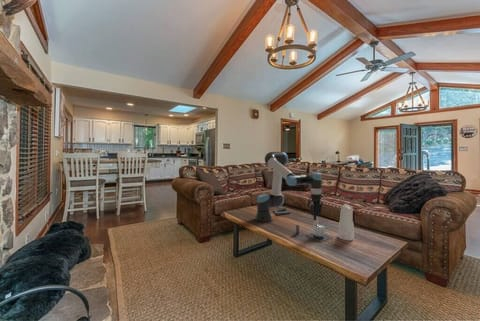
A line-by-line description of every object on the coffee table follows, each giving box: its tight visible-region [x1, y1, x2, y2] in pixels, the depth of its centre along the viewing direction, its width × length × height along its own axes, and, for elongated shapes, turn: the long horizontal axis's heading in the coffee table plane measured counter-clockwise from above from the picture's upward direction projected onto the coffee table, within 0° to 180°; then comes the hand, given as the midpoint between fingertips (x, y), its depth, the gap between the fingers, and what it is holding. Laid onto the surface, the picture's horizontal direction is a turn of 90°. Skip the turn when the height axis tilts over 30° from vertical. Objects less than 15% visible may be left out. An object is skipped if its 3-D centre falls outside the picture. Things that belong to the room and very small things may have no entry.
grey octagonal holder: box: [312, 223, 326, 236], centre depth 163 cm, size 8×8×6 cm
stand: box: [293, 224, 302, 237], centre depth 168 cm, size 6×6×8 cm
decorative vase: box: [337, 203, 355, 241], centre depth 163 cm, size 11×11×25 cm
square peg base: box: [304, 226, 334, 244], centre depth 163 cm, size 14×14×9 cm
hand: (315, 224), depth 165 cm, fingers closed
